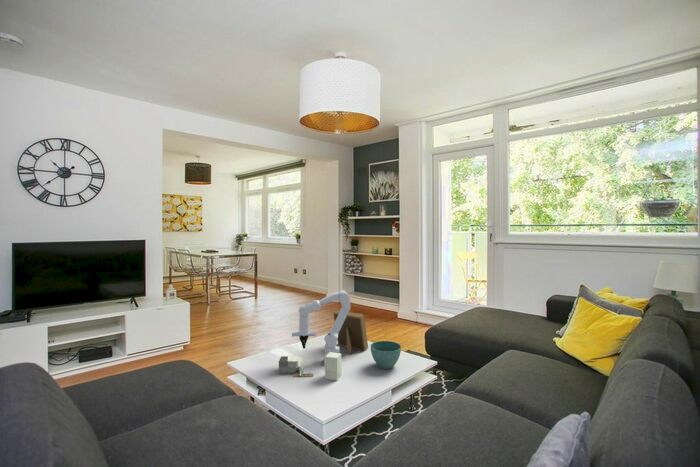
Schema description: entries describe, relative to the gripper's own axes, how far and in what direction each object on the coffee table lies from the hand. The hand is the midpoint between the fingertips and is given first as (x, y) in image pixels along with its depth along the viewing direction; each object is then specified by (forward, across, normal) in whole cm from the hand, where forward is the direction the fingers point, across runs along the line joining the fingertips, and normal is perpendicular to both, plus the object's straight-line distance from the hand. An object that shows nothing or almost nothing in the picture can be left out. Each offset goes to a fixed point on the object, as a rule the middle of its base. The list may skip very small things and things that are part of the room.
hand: (304, 347), depth 213 cm
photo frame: (+10, -28, -22) cm, 37 cm away
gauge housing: (+9, +8, +11) cm, 17 cm away
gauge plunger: (+9, +5, +13) cm, 17 cm away
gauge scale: (+9, -1, +17) cm, 20 cm away
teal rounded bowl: (+10, -49, +6) cm, 50 cm away
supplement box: (+10, -18, +20) cm, 29 cm away
